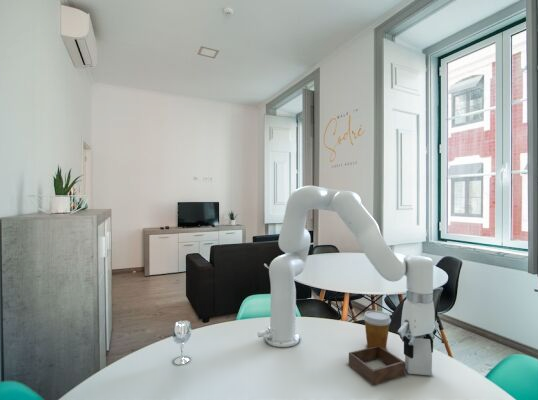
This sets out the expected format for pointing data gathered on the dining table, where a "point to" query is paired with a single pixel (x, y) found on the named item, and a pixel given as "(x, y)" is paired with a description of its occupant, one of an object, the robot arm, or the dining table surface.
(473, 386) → the dining table surface
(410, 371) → the white food carton
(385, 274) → the robot arm
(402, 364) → the crate
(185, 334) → the wineglass
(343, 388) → the dining table surface
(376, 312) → the disposable coffee cup
